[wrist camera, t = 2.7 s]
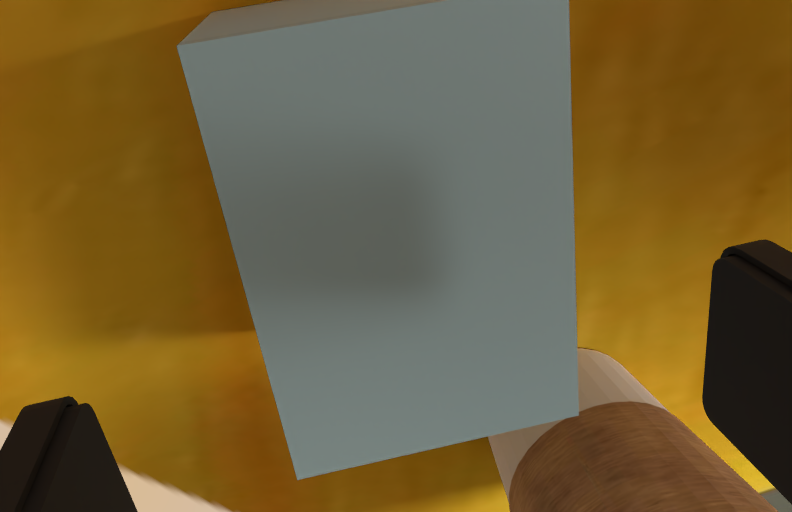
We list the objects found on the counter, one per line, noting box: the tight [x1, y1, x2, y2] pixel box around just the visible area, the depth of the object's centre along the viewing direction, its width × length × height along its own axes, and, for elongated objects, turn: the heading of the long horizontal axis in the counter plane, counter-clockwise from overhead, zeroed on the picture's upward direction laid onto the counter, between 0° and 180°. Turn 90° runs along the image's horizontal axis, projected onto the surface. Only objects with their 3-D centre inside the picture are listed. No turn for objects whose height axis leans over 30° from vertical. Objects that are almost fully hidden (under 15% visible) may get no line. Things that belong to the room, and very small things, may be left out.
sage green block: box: [177, 0, 579, 480], centre depth 17 cm, size 7×10×7 cm
